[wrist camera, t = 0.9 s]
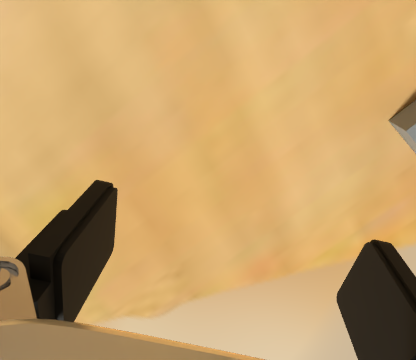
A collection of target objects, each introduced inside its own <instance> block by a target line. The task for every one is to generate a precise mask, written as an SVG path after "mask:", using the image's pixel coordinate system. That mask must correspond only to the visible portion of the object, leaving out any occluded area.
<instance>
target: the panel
mask: <svg viewBox="0 0 416 360" xmlns="http://www.w3.org/2000/svg"><path fill="white" fill-rule="evenodd" d="M389 122H390V123H391V124H392V126H393V127H394V128H395V129H396V130H397V132H398V133H399V134H400V135H401V136H402V138H403V139H404V140H405V141H406V142H407V144H408V145H409V146H410V147H411V148H412V150H413V151H414V152H415V153H416V100H415V101H414V102H412V103H411V104H410V105H408V106H407V107H406V108H404V109H403V110H402V111H401V112H399V113H398V114H397V115H395V116H394V117H393V118H391V119H390V120H389Z"/></svg>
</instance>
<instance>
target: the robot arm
mask: <svg viewBox="0 0 416 360" xmlns="http://www.w3.org/2000/svg"><path fill="white" fill-rule="evenodd" d="M116 206H117V188H113V184H112V183H109V182H104V181H100V180H96V181H94V182H93V184H92V185H91V186H90V187H89V188H88V189H87V190H86V191H85V192H84V193H83V194H82V195H81V196H80V197H79V199H78V200H77V201H76V202H75V203H74V204H73V205H72V206H71V207H70V208H69V209H68V210H62V211H61V212H59V213H58V214H57V215H56V216H55V218H54V219H53V220H52V221H51V222H50V223H49V224H48V225H47V226H46V227H45V228H44V229H43V230H42V231H41V232H40V233H39V234H38V235H37V236H36V237H35V238H34V239H33V240H32V241H31V242H30V243H29V244H28V245H27V246H26V248H25V249H24V250H23V251H22V252H21V253H20V254H19V255H18V256H17V257H16V258H11V257H0V360H265V359H259V358H254V357H250V356H245V355H240V354H236V353H231V352H226V351H221V350H216V349H211V348H206V347H201V346H197V345H191V344H187V343H181V342H177V341H172V340H167V339H162V338H157V337H152V336H147V335H142V334H137V333H132V332H126V331H121V330H116V329H110V328H105V327H100V326H94V325H89V324H83V323H76V322H74V321H75V319H76V317H77V315H78V313H79V312H80V310H81V308H82V306H83V304H84V303H85V301H86V299H87V297H88V295H89V294H90V292H91V290H92V288H93V286H94V285H95V283H96V281H97V279H98V277H99V276H100V274H101V272H102V270H103V268H104V267H105V265H106V263H107V261H108V259H109V258H110V256H111V254H112V251H113V248H114V237H115V222H116ZM337 303H338V306H339V309H340V311H341V314H342V317H343V319H344V322H345V325H346V328H347V331H348V333H349V336H350V339H351V342H352V344H353V347H354V350H355V352H356V355H357V358H358V360H416V277H415V275H414V274H413V273H412V271H411V270H410V268H409V267H408V266H407V264H406V263H405V262H404V260H403V259H402V257H401V256H400V255H399V253H398V252H397V250H396V249H395V248H394V246H393V245H392V244H391V243H388V242H383V241H379V240H372V241H370V243H369V242H368V243H366V244H365V245H364V247H363V249H362V250H361V252H360V254H359V256H358V257H357V259H356V261H355V263H354V265H353V266H352V268H351V270H350V272H349V273H348V275H347V277H346V279H345V280H344V282H343V284H342V286H341V288H340V289H339V291H338V293H337Z"/></svg>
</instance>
